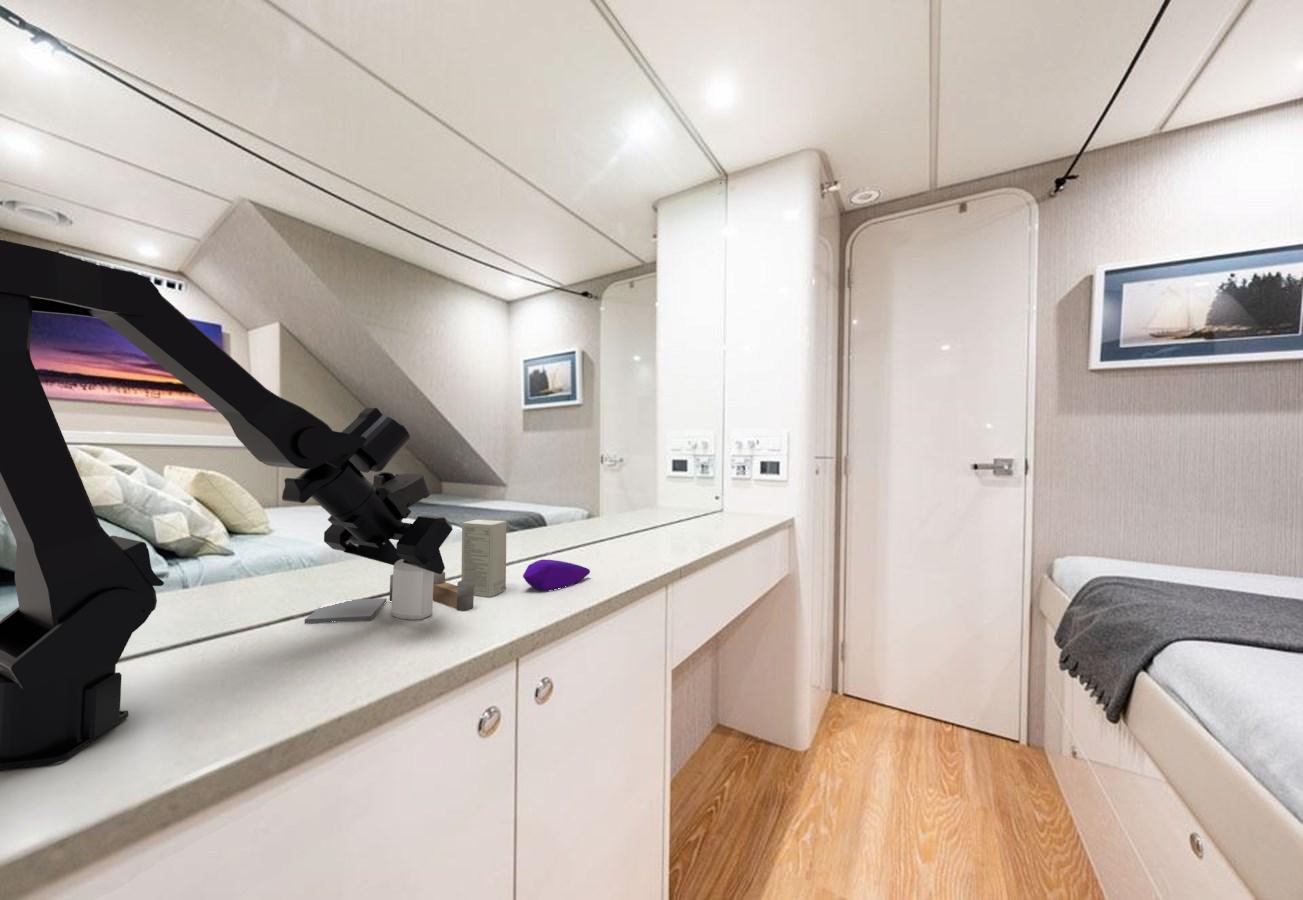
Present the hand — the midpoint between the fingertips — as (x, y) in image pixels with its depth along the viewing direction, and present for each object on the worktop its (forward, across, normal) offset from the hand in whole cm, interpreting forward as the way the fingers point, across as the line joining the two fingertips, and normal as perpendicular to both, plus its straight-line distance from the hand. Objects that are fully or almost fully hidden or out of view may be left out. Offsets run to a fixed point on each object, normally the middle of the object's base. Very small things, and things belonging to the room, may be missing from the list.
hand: (421, 567), depth 69 cm
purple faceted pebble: (+21, -9, -11) cm, 25 cm away
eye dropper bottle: (+4, 0, +6) cm, 7 cm away
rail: (+7, +2, +2) cm, 8 cm away
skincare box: (+13, -1, -4) cm, 14 cm away
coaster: (+1, +9, +8) cm, 12 cm away
